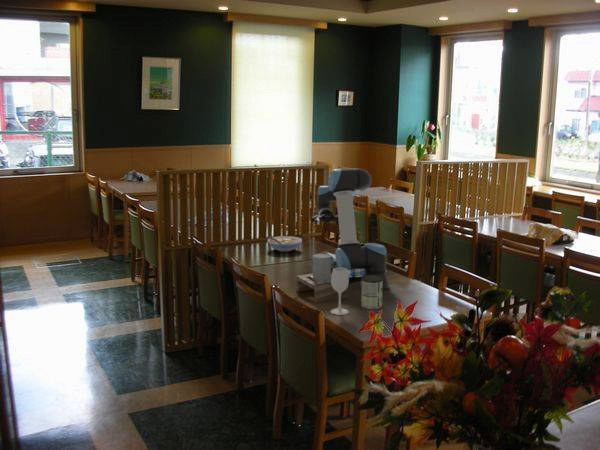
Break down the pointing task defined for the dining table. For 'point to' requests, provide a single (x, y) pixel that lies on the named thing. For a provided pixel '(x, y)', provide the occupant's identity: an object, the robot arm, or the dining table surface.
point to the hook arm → (319, 281)
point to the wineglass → (339, 287)
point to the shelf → (318, 289)
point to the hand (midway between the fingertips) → (331, 222)
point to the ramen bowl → (284, 243)
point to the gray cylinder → (321, 267)
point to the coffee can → (371, 291)
